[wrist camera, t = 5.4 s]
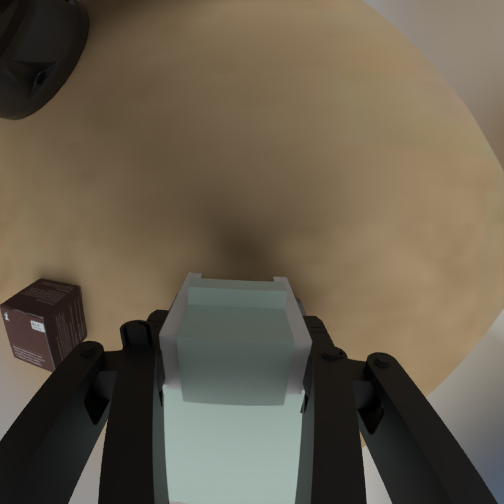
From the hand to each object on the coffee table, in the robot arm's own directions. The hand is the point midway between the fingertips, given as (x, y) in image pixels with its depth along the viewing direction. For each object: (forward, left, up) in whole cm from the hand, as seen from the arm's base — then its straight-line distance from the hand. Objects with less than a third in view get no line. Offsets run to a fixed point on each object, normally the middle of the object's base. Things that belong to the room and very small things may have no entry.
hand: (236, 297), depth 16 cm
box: (+7, -19, -9) cm, 22 cm away
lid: (+9, 0, +3) cm, 9 cm away
